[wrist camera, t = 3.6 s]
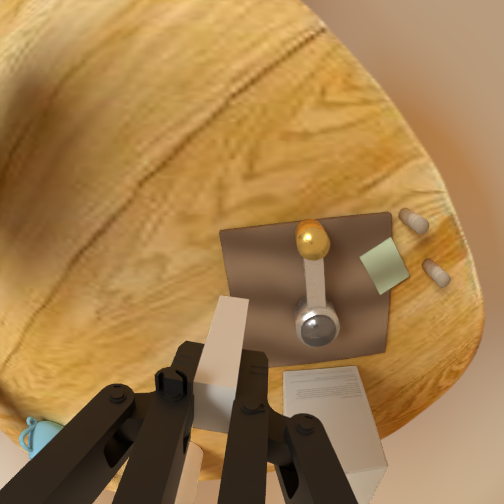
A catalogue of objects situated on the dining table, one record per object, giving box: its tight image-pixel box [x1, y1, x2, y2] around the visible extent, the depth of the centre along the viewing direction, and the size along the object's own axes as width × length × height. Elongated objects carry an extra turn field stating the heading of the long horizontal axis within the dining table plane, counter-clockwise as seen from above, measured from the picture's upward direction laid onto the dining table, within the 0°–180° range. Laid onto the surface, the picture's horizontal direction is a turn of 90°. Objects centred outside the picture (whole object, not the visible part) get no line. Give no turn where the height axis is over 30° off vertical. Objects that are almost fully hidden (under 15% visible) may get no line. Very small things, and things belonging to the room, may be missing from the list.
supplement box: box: [283, 365, 388, 504], centre depth 30 cm, size 9×9×15 cm
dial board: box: [219, 208, 450, 368], centre depth 30 cm, size 16×21×4 cm
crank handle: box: [294, 219, 340, 347], centre depth 28 cm, size 12×4×4 cm, turn 8°
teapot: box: [19, 416, 64, 460], centre depth 41 cm, size 15×15×10 cm
